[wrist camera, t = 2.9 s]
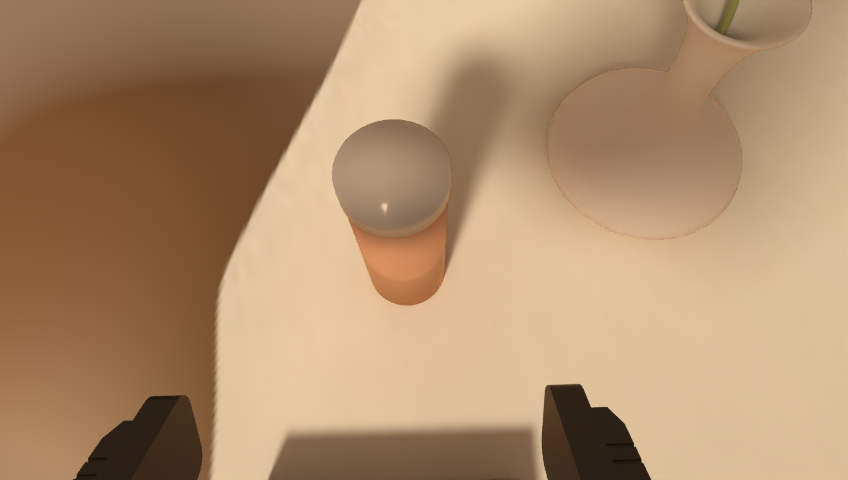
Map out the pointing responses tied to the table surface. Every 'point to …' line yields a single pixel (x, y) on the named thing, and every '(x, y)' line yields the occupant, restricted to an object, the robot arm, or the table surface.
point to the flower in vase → (665, 126)
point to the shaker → (397, 205)
